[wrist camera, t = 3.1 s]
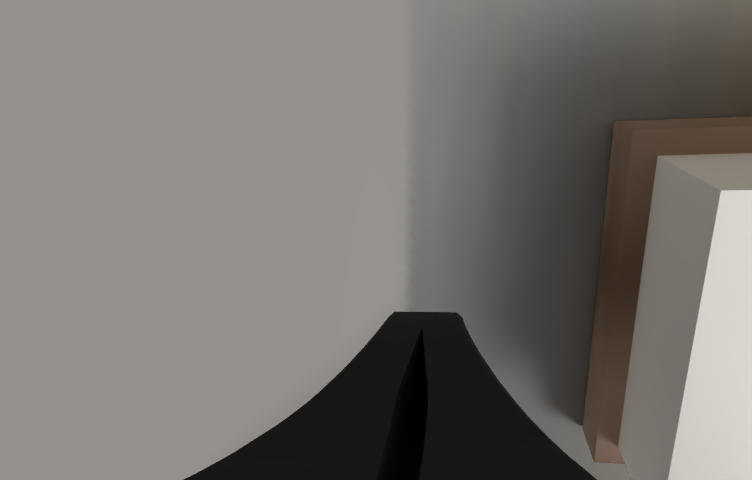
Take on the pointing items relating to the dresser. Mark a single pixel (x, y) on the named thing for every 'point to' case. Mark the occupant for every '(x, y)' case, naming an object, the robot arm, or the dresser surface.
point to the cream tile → (693, 326)
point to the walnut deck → (635, 254)
